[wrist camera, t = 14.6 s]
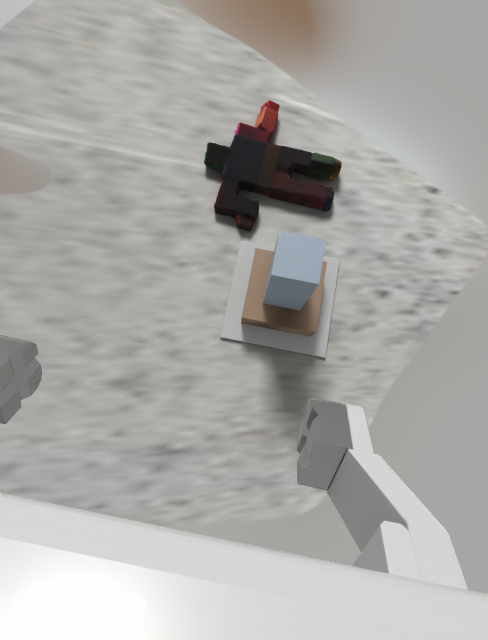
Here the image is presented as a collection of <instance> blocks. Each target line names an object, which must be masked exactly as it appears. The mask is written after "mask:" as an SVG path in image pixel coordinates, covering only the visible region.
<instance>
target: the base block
mask: <svg viewBox="0 0 488 640" xmlns="http://www.w3.org/2000/svg"><path fill="white" fill-rule="evenodd" d="M273 254H274V251H269V250H263V249H258V248H255V253H254V258H253V263H252V268H251V273H250V278H249V283H248V288H247V293H246V298H245V303H244V308H243V313H242V318H241V323H242V324H247V325H252V326H258V327H263V328H268V329H273V330H278V331H283V332H288V333H293V334H298V335H303V336H309V337H311V336H312V335H313V334H315V333H316V331H317V324H318V318H319V311H320V305H321V298H322V292H323V285H324V279H325V272H326V266H327V262H326V261H323V263H322V269H321V276H320V282H319V285H318V286H317V288H316V289H315V291H314V292H313V293H312V295H311V296H310V297H309V299H308V300H307V302H306V303H305V304H304V306H303V307H302V308H301V310H300V311H299V310H294V309H289V308H284V307H279V306H274V305H268V304H263V300H264V295H265V290H266V284H267V279H268V274H269V269H270V265H271V261H272V257H273Z"/></svg>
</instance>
